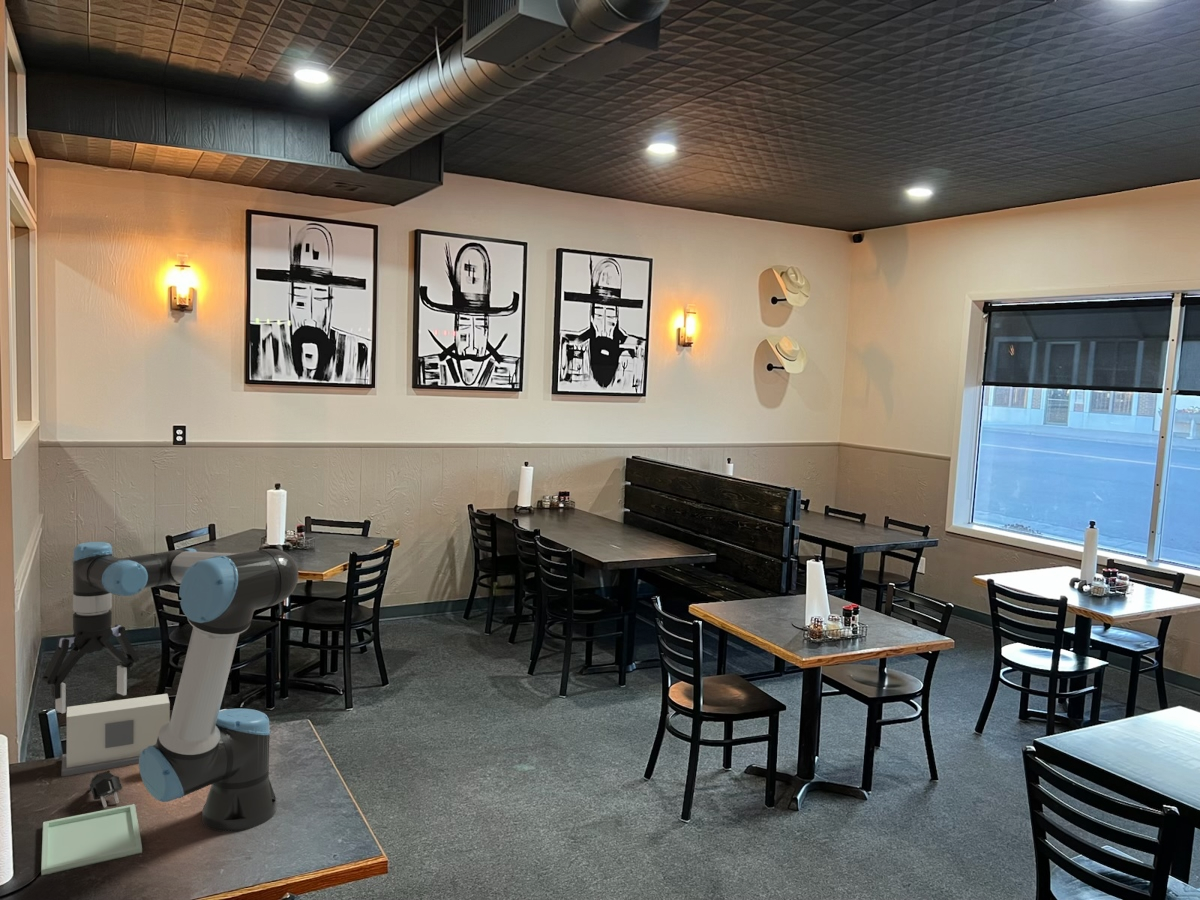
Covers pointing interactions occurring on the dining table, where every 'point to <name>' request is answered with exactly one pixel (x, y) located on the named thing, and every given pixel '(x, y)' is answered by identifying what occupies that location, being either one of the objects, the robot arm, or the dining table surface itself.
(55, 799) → the dining table surface
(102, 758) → the box
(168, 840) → the dining table surface
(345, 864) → the dining table surface
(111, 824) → the tray
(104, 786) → the power plug
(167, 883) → the dining table surface
